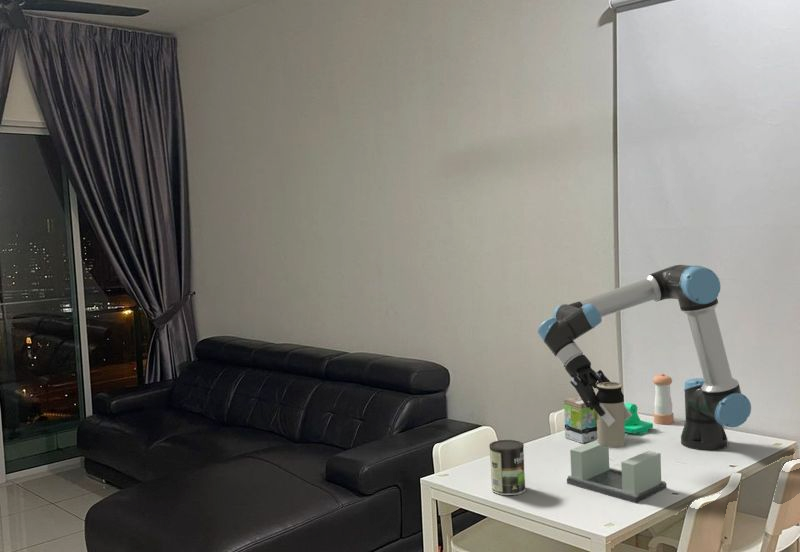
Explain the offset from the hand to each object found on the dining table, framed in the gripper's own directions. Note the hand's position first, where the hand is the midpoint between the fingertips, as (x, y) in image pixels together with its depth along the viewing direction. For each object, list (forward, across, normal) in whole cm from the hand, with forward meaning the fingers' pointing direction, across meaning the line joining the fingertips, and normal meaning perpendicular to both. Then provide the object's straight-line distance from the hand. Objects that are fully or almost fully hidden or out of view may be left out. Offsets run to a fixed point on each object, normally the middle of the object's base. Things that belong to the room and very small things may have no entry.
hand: (620, 420), depth 218 cm
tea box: (-13, -37, -42) cm, 57 cm away
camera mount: (-7, -55, -36) cm, 66 cm away
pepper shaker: (-6, -72, -35) cm, 80 cm away
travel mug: (+3, 0, -8) cm, 9 cm away
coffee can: (-2, +23, -32) cm, 40 cm away
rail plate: (+13, -1, -17) cm, 21 cm away
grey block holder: (+11, -1, -16) cm, 19 cm away
